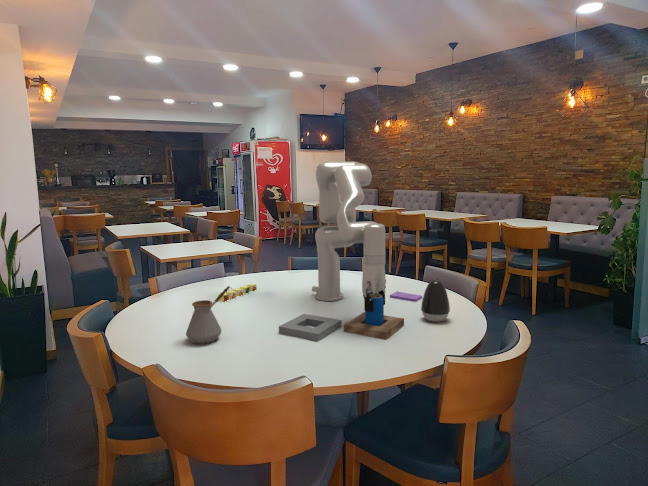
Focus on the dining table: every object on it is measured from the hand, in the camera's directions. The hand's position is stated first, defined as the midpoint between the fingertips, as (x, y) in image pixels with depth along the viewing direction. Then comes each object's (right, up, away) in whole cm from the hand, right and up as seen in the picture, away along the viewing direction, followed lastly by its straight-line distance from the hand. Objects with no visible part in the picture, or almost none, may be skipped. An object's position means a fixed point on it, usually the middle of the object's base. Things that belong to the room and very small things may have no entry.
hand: (375, 307), depth 158 cm
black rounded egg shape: (+23, -6, +10) cm, 26 cm away
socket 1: (-23, -8, +1) cm, 24 cm away
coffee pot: (-56, -9, -2) cm, 57 cm away
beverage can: (0, -8, +2) cm, 8 cm away
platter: (-55, -2, +48) cm, 73 cm away
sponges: (+18, -2, +39) cm, 43 cm away
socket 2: (0, -8, +2) cm, 8 cm away
